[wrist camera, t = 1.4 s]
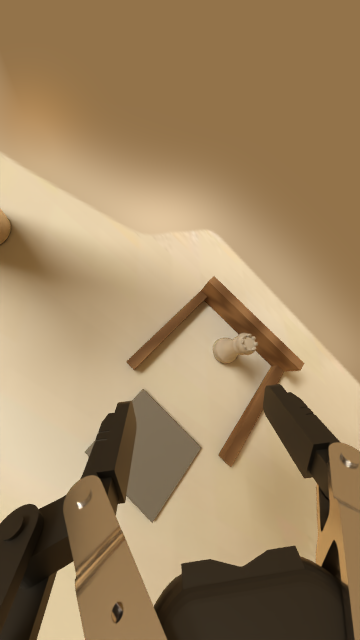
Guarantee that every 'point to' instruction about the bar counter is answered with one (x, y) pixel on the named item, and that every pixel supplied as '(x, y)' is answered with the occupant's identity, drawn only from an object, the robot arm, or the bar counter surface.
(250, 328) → the walnut lane
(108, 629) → the robot arm
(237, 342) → the rook chess piece
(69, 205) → the bar counter surface
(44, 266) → the bar counter surface
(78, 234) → the bar counter surface
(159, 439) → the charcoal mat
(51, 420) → the bar counter surface
